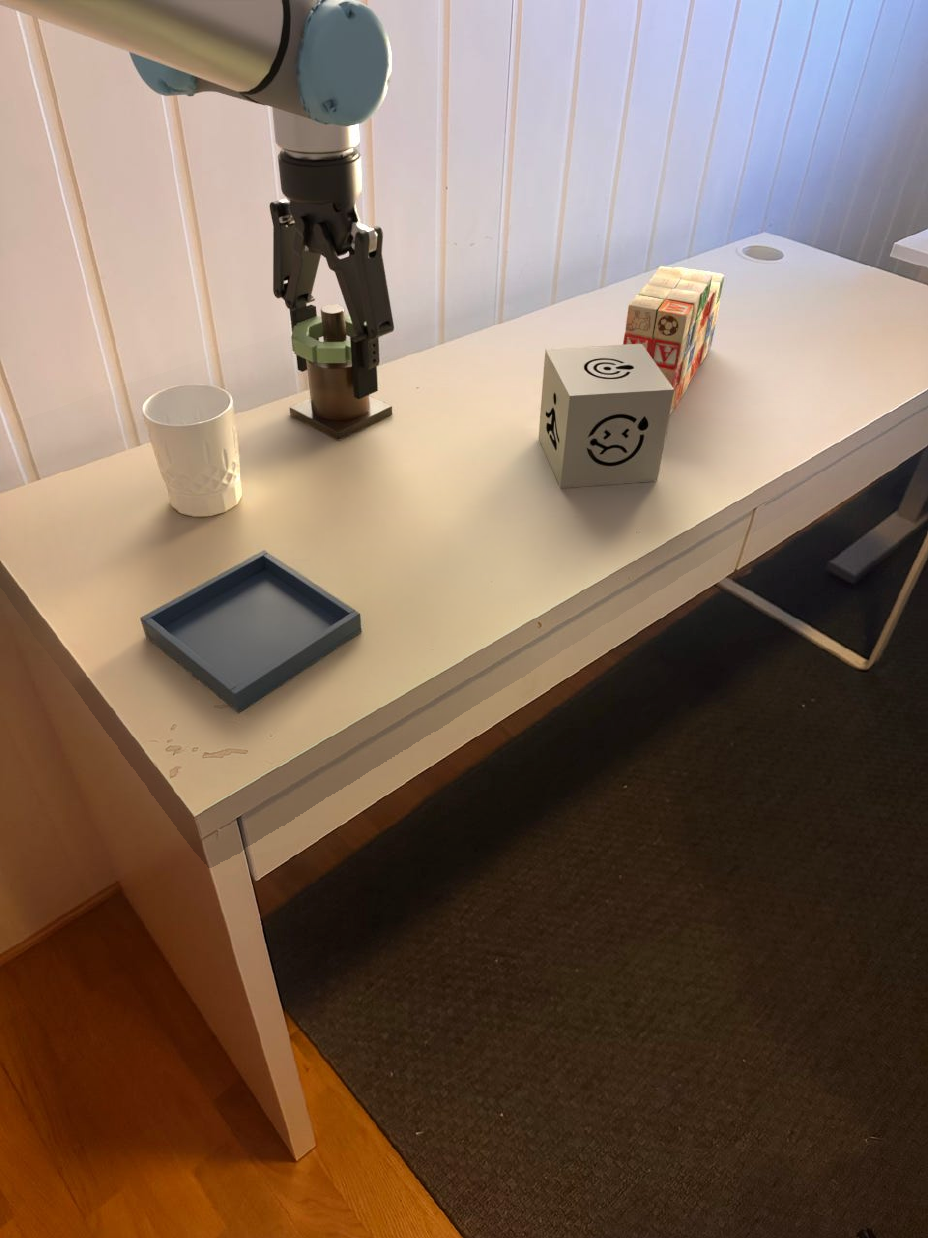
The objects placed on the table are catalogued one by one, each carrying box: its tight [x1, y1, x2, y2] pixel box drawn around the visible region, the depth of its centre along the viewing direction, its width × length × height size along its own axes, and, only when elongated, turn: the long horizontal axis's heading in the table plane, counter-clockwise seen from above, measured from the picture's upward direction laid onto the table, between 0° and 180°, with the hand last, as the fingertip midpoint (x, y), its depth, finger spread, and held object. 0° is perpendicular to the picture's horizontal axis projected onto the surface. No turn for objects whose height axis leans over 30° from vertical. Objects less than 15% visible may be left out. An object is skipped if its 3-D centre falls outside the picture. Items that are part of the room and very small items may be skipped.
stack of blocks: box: [622, 265, 726, 417], centre depth 103 cm, size 21×6×12 cm, turn 155°
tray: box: [140, 549, 363, 714], centre depth 71 cm, size 12×12×2 cm
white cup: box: [141, 383, 243, 518], centre depth 83 cm, size 8×8×10 cm
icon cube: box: [538, 344, 674, 489], centre depth 90 cm, size 10×10×10 cm
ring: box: [290, 314, 367, 363], centre depth 93 cm, size 8×8×2 cm
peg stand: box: [289, 303, 393, 441], centre depth 95 cm, size 8×8×12 cm
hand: (337, 379), depth 96 cm, fingers closed on ring, 8 cm apart
